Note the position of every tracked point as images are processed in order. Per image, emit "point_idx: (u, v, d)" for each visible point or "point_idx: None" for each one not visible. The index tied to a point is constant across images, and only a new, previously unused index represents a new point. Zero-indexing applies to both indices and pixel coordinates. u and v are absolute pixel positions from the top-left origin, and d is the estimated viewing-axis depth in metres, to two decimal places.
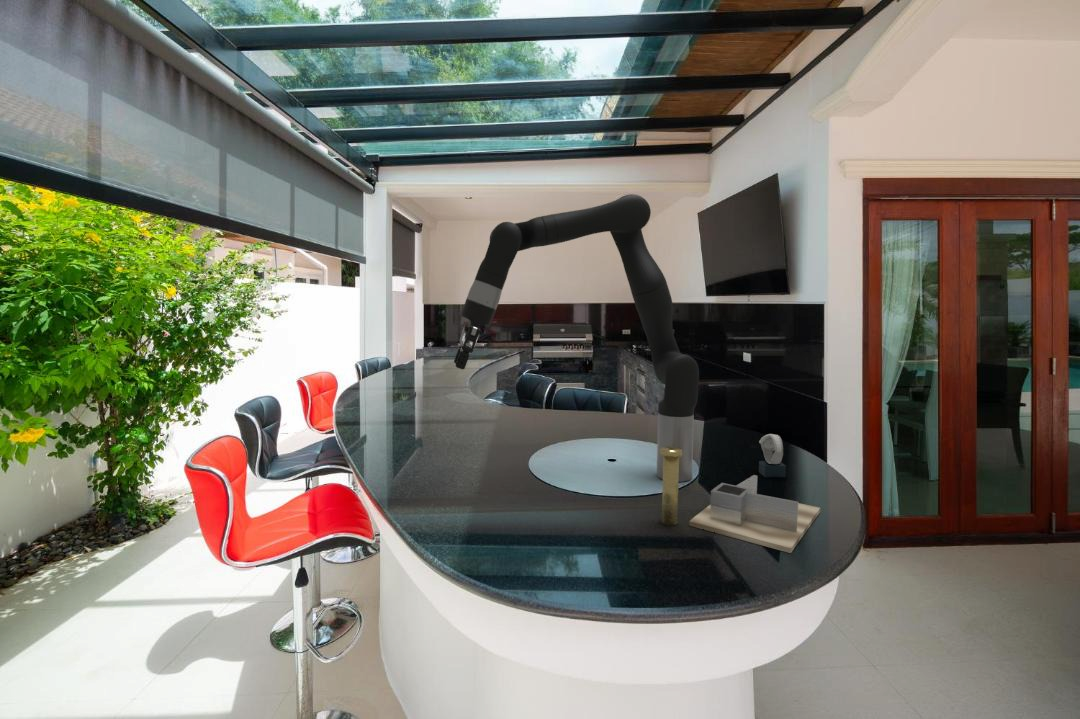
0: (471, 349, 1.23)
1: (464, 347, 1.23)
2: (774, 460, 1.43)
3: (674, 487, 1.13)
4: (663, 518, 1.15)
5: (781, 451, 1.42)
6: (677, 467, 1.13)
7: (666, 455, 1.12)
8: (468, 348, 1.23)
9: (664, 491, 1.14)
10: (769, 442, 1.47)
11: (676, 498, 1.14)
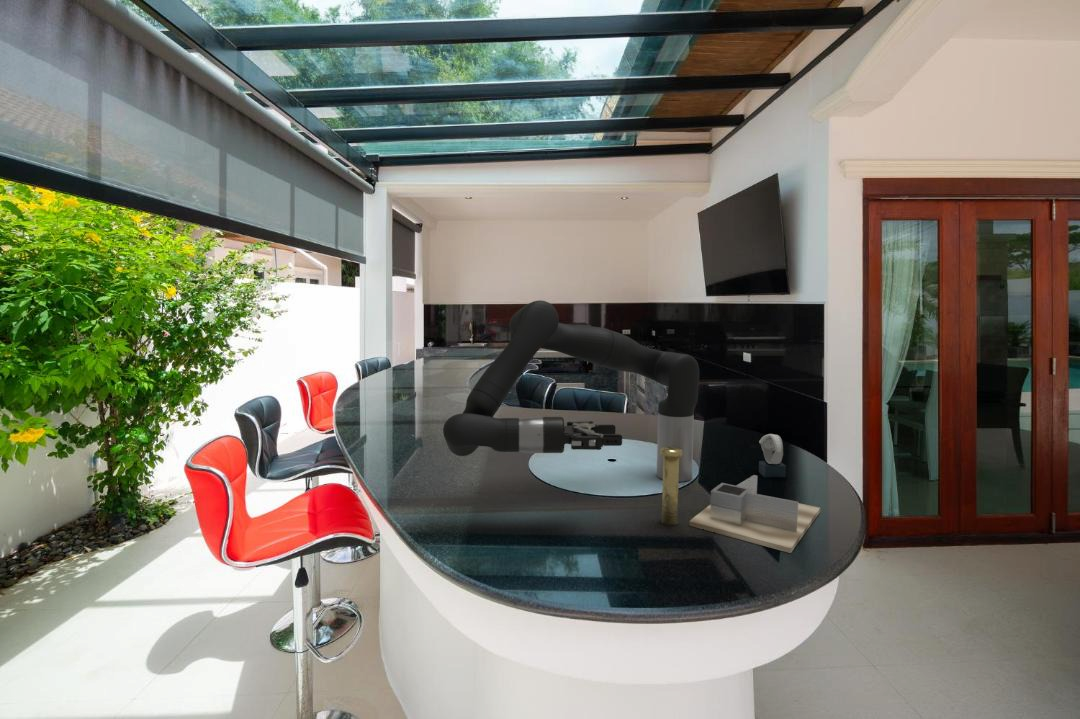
0: (597, 439, 1.06)
1: (598, 447, 1.06)
2: (774, 460, 1.43)
3: (674, 487, 1.13)
4: (663, 518, 1.15)
5: (781, 451, 1.42)
6: (677, 467, 1.13)
7: (666, 455, 1.12)
8: (597, 443, 1.06)
9: (664, 491, 1.14)
10: (769, 442, 1.47)
11: (676, 498, 1.14)
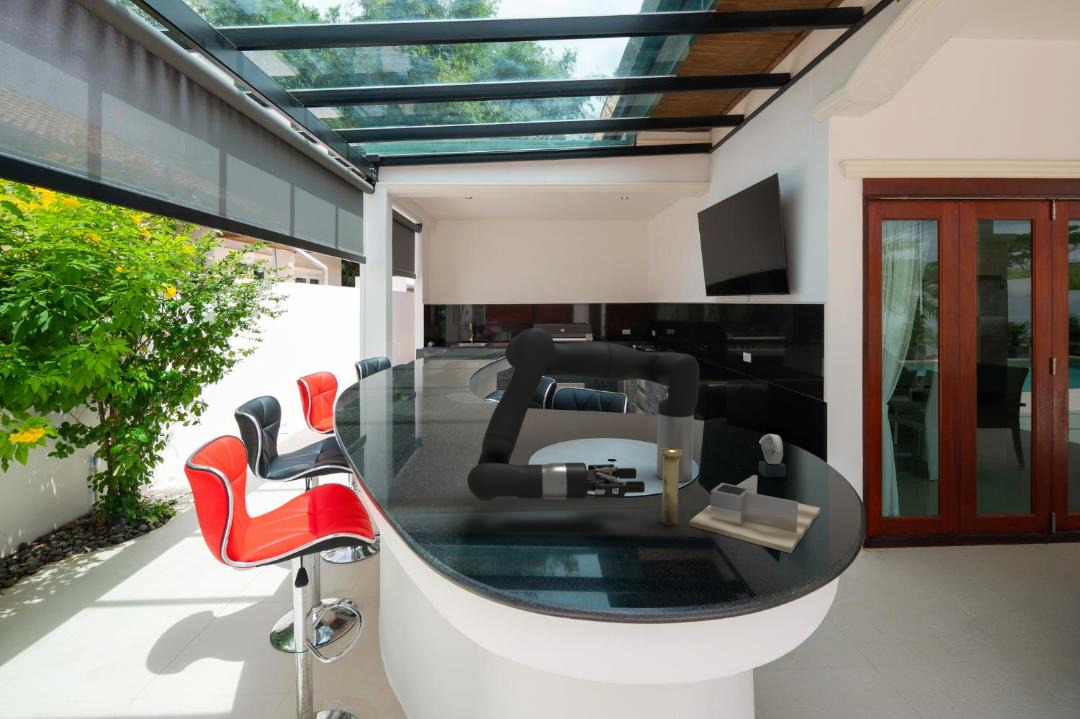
0: (621, 488, 1.07)
1: (621, 496, 1.07)
2: (774, 460, 1.43)
3: (674, 487, 1.13)
4: (663, 518, 1.15)
5: (781, 451, 1.42)
6: (677, 467, 1.13)
7: (666, 455, 1.12)
8: (621, 491, 1.07)
9: (664, 491, 1.14)
10: (769, 442, 1.47)
11: (676, 498, 1.14)
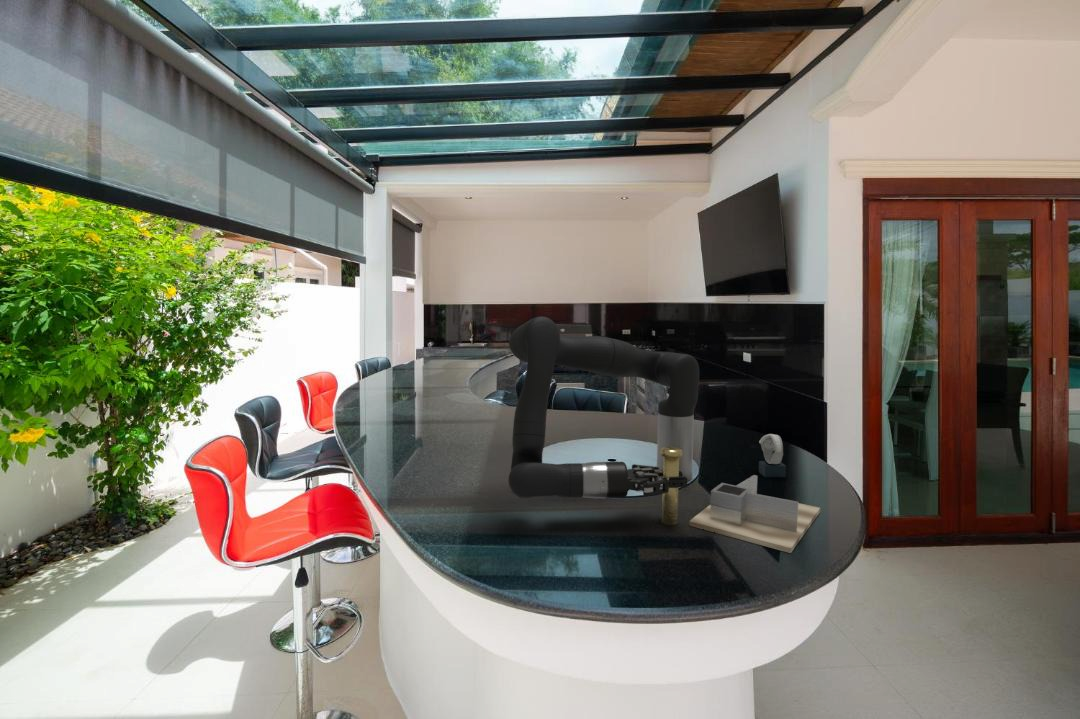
0: (666, 483, 1.09)
1: (665, 490, 1.10)
2: (774, 460, 1.43)
3: None
4: (663, 518, 1.15)
5: (781, 451, 1.42)
6: (677, 467, 1.13)
7: (666, 455, 1.12)
8: (665, 486, 1.10)
9: None
10: (769, 442, 1.47)
11: (676, 498, 1.14)
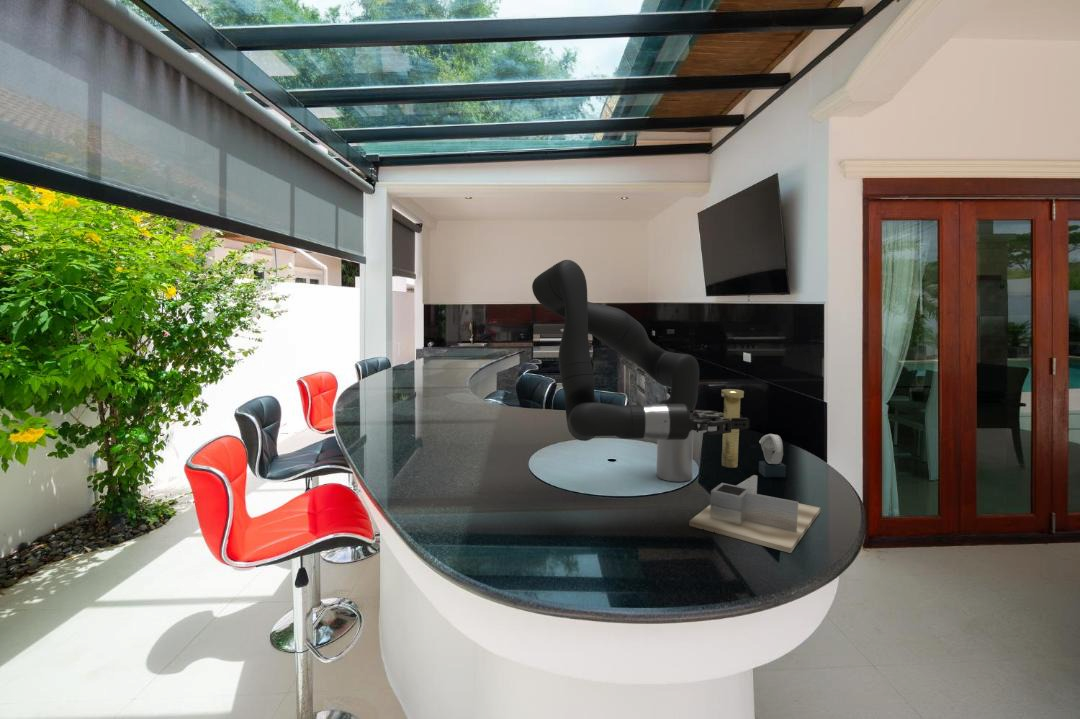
0: (730, 422, 1.08)
1: (728, 430, 1.09)
2: (774, 460, 1.43)
3: None
4: (723, 461, 1.14)
5: (781, 451, 1.42)
6: (739, 408, 1.12)
7: (728, 396, 1.11)
8: (728, 426, 1.08)
9: (725, 433, 1.13)
10: (769, 442, 1.47)
11: (737, 440, 1.12)
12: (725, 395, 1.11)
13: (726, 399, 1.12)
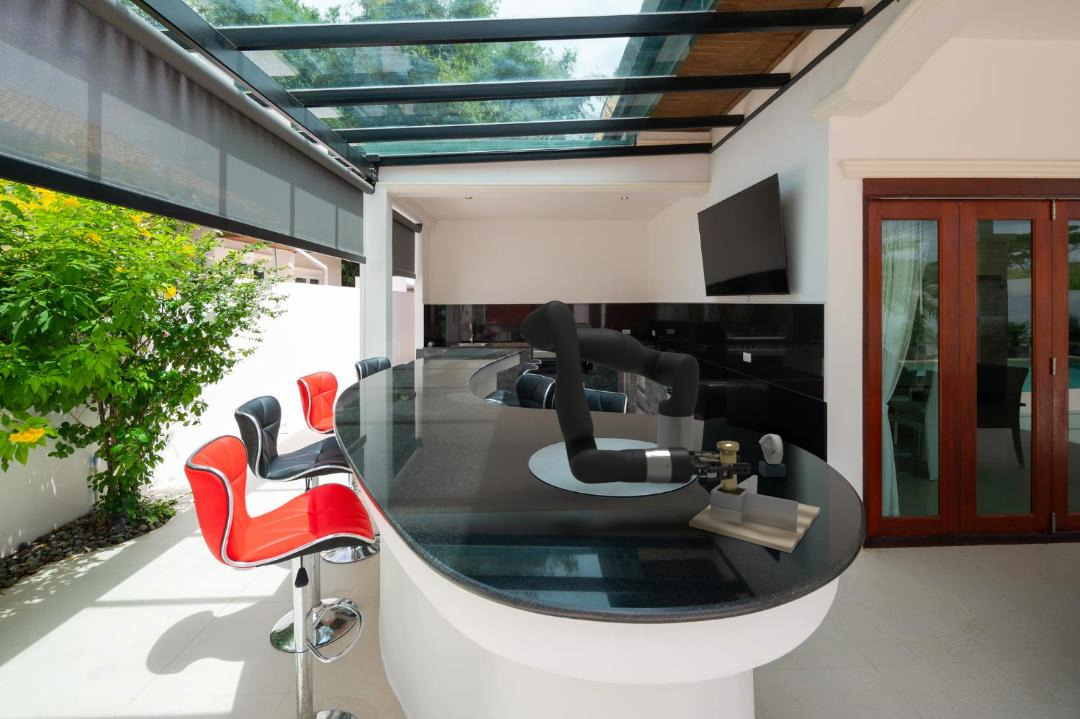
0: (731, 469, 1.09)
1: (730, 477, 1.09)
2: (774, 460, 1.43)
3: (733, 481, 1.13)
4: None
5: (781, 451, 1.42)
6: (735, 461, 1.13)
7: (723, 449, 1.12)
8: (730, 472, 1.09)
9: (723, 486, 1.14)
10: (769, 442, 1.47)
11: (735, 492, 1.14)
12: (720, 449, 1.13)
13: (722, 452, 1.13)
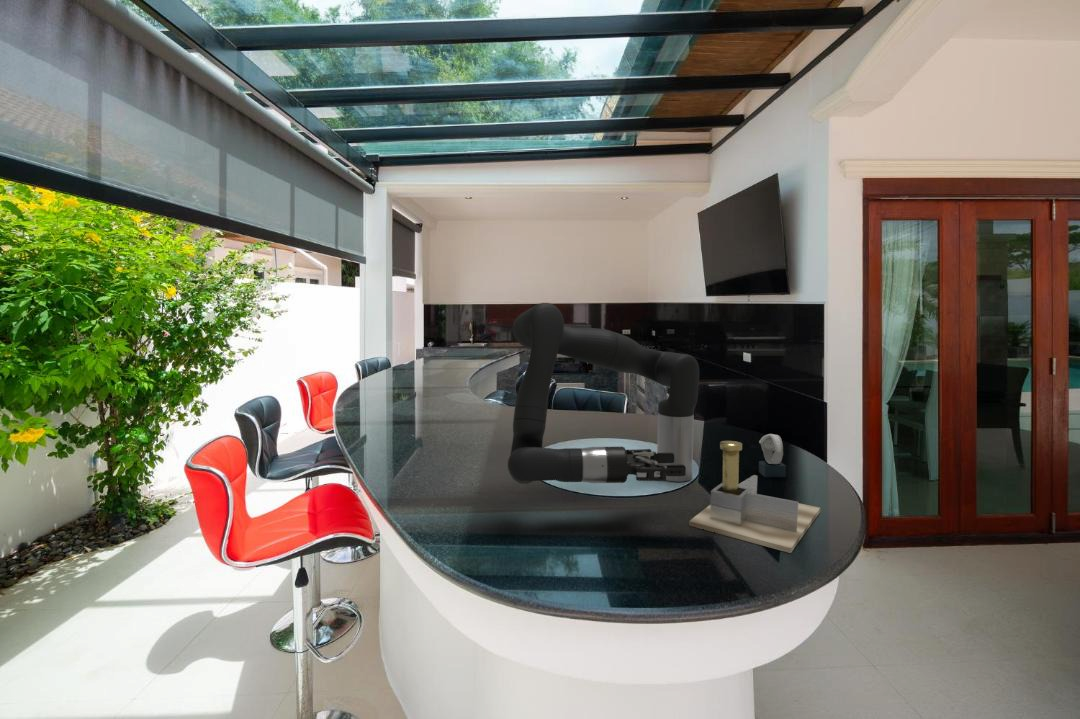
0: (663, 471, 1.07)
1: (663, 479, 1.07)
2: (774, 460, 1.43)
3: (735, 480, 1.13)
4: None
5: (781, 451, 1.42)
6: (737, 461, 1.13)
7: (727, 449, 1.13)
8: (663, 474, 1.07)
9: (724, 485, 1.14)
10: (769, 442, 1.47)
11: (737, 492, 1.14)
12: (724, 448, 1.13)
13: (725, 451, 1.14)
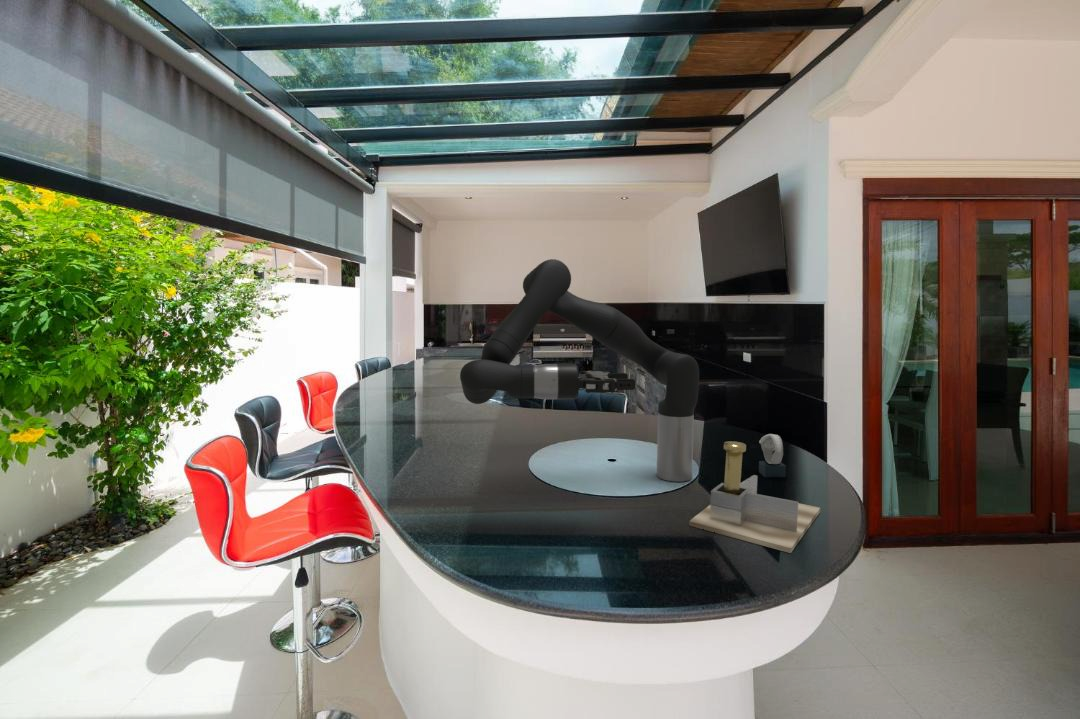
0: (611, 382, 1.08)
1: (612, 390, 1.08)
2: (774, 460, 1.43)
3: (737, 481, 1.13)
4: None
5: (781, 451, 1.42)
6: (740, 462, 1.13)
7: (730, 450, 1.12)
8: (611, 386, 1.08)
9: (726, 486, 1.14)
10: (769, 442, 1.47)
11: (738, 493, 1.14)
12: (728, 449, 1.12)
13: (728, 452, 1.13)
